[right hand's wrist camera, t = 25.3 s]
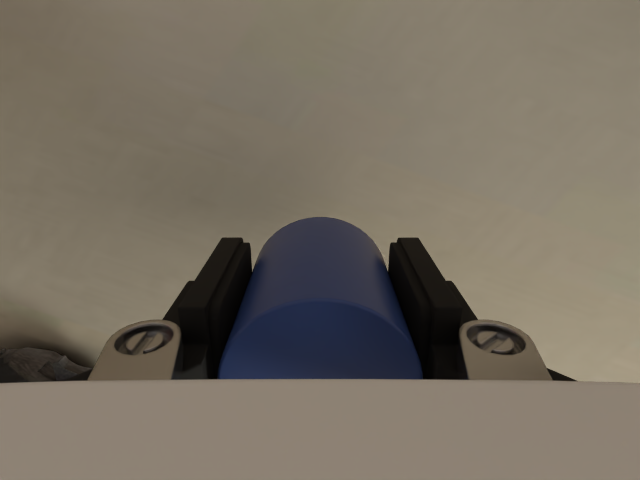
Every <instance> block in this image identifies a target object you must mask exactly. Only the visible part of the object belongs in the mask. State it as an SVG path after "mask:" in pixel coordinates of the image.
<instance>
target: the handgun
mask: <svg viewBox="0 0 640 480" xmlns="http://www.w3.org/2000/svg"><path fill="white" fill-rule="evenodd" d="M90 369H92V368H88V367H83V366H80V365H77V364H75V363H73V362H71V361H70V360H69V359H68V358H67V357H66V356H65V355H64V356H61V355H60V354H58V353H56V352H55V351H50V350H43V349H37V348H30V347H27V348H22V349H10V350H6V348H3V349H2V350H0V383H23V382H56V381H64V380H66V379H69V378H71V377H74V376H76V375H78V374H81V373H83V372H85V371H88V370H90Z"/></svg>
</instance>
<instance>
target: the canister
mask: <svg viewBox="0 0 640 480" xmlns="http://www.w3.org/2000/svg"><path fill="white" fill-rule="evenodd" d="M217 379H419V380H423V373H422V368H421V363H420V360H419V357H418V354H417V351H416V349H415V346H414V343H413V340H412V337H411V335H410V332H409V329H408V326H407V324H406V321H405V318H404V315H403V312H402V310H401V307H400V304H399V301H398V299H397V296H396V293H395V290H394V287H393V285H392V282H391V279H390V276H389V274H388V271H387V268H386V265H385V262H384V260H383V257H382V254H381V252H380V251H379V249H378V247H377V246H376V244H375V243H374V242H373V240H372V239H371V238H370V237H369V236H368V235H367V234H366V233H364V232H363V231H362V230H360V229H359V228H357V227H356V226H354V225H352V224H350V223H347V222H345V221H342V220H338V219H335V218H328V217H313V218H306V219H302V220H298V221H296V222H293V223H290V224H288V225H287V226H285V227H283V228H281V229H280V230H279V231H277V232H276V233H275V234H274V235H273V236H272V237H271V238H269V240H268V241H267V242H266V243H265V245H264V246H263V248H262V250H261V251H260V253H259V256H258V258H257V261H256V263H255V266H254V269H253V272H252V274H251V277H250V280H249V283H248V285H247V288H246V291H245V294H244V297H243V299H242V302H241V305H240V308H239V310H238V313H237V316H236V319H235V321H234V324H233V327H232V330H231V332H230V335H229V338H228V341H227V343H226V346H225V349H224V352H223V354H222V357H221V360H220V364H219V369H218V378H217Z"/></svg>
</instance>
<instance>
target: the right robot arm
mask: <svg viewBox="0 0 640 480" xmlns="http://www.w3.org/2000/svg"><path fill="white" fill-rule="evenodd" d="M251 274H252V263H251V248H250V243H243V239H242V238H222V239H221V240H220V242H219V243H218V245H217V246H216V248H215V250H214V251H213V253H212V254H211V256H210V257H209V259H208V261H207V262H206V264H205V265H204V267H203V268H202V270H201V272H200V273H199V275H198V276H197V278H196V279H195V281H188V282H187V284H186V285H185V287H184V288H183V290H182V291H181V293H180V294H179V296H178V297H177V299H176V300H175V302H174V303H173V305H172V306H171V308H170V309H169V311H168V312H167V313H166V315H165V316H164V318H163V319H162V320H147V321H141V322H138V323H134V324H131V325H128V326H126V327H124V328H122V329H120V330H119V331H117V332H116V333H115V334H113V335H112V336H111V337H110V338H109V340H108V341H107V343H106V344H105V346H104V348H103V350H102V352H101V354H100V356H99V358H98V360H97V362H96V364H95V366H94V368H92V369H90V370H88V371H85V372H83V373H81V374H78V375H76V376H74V377H71V378H69V379H66V380H64V381H56V382H23V383H0V480H640V383H619V382H582V381H576V380H574V379H571V378H569V377H567V376H564V375H562V374H560V373H557V372H555V371H553V370H550V369H548V368H546V366H545V364H544V362H543V360H542V358H541V356H540V354H539V352H538V350H537V348H536V346H535V344H534V343H533V341H532V340H531V338H530V337H529V336H528V335H527V334H525V333H524V332H523V331H521V330H520V329H518V328H516V327H514V326H512V325H509V324H506V323H502V322H499V321H493V320H478V319H477V318H476V316H475V315H474V313H473V312H472V310H471V309H470V307H469V306H468V304H467V303H466V301H465V300H464V298H463V297H462V295H461V294H460V292H459V291H458V289H457V288H456V286H455V285H454V283H453V282H452V281H445V279H444V277H443V276H442V274H441V273H440V271H439V270H438V268H437V266H436V265H435V263H434V262H433V260H432V259H431V257H430V255H429V254H428V252H427V251H426V249H425V248H424V246H423V244H422V243H421V241H420V240H419V238H398V240H397V243H391V244H390V251H389V267H388V274H389V276H390V279H391V282H392V285H393V287H394V290H395V293H396V296H397V299H398V301H399V304H400V307H401V310H402V312H403V315H404V318H405V321H406V324H407V326H408V329H409V332H410V335H411V337H412V340H413V343H414V346H415V349H416V351H417V354H418V357H419V360H420V363H421V368H422V373H423V380H419V379H217V378H218V369H219V364H220V360H221V357H222V354H223V352H224V349H225V346H226V343H227V341H228V338H229V335H230V332H231V330H232V327H233V324H234V321H235V319H236V316H237V313H238V310H239V308H240V305H241V302H242V299H243V297H244V294H245V291H246V288H247V285H248V283H249V280H250V277H251Z"/></svg>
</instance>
